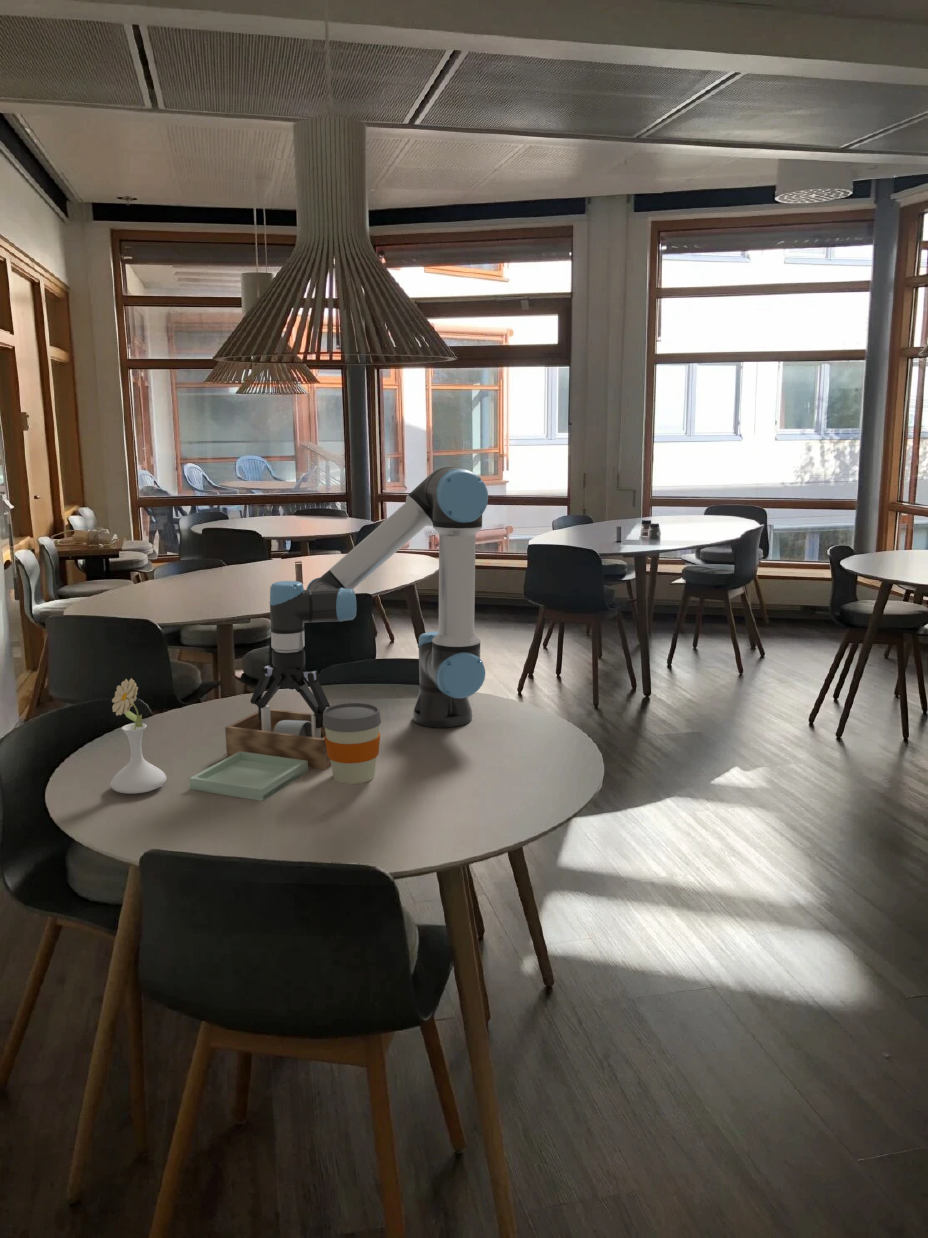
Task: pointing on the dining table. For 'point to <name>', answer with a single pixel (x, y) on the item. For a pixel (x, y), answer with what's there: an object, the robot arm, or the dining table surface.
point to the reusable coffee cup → (352, 741)
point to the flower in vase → (134, 747)
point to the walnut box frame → (277, 739)
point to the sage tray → (249, 775)
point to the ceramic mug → (294, 727)
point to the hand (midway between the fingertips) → (291, 737)
